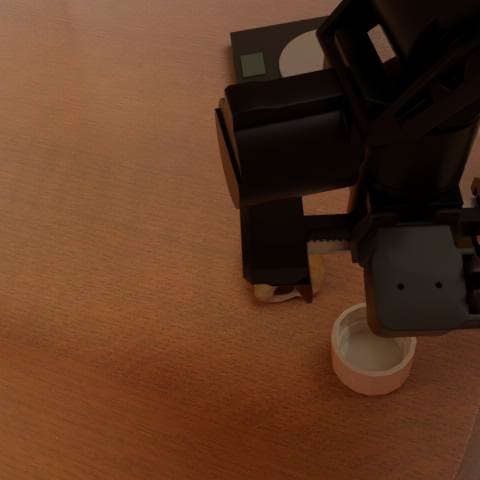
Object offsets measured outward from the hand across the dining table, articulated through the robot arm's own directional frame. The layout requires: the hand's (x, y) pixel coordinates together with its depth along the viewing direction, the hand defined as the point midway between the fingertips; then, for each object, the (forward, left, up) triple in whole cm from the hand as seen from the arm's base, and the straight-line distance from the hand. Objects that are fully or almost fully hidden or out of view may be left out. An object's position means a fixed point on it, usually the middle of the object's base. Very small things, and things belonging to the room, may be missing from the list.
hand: (373, 295), depth 53 cm
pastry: (+6, -10, -12) cm, 16 cm away
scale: (+1, -34, -11) cm, 36 cm away
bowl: (0, 0, -11) cm, 11 cm away
